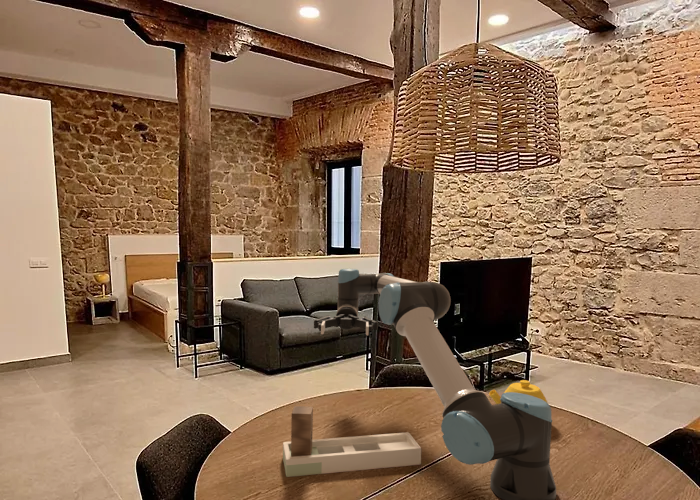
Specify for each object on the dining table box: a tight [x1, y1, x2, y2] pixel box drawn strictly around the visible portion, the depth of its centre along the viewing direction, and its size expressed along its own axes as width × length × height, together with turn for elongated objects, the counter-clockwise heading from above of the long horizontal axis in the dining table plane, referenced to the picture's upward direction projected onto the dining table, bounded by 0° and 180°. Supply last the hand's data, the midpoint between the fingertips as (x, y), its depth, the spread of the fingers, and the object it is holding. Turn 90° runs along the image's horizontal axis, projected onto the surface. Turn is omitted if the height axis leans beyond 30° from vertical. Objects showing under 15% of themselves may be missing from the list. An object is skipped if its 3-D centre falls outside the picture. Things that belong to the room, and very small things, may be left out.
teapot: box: [488, 379, 548, 404], centre depth 160 cm, size 20×16×14 cm
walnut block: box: [290, 405, 314, 457], centre depth 128 cm, size 5×5×12 cm
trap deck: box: [282, 431, 422, 478], centre depth 132 cm, size 36×10×4 cm, turn 103°
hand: (344, 330), depth 147 cm, fingers open, 13 cm apart
